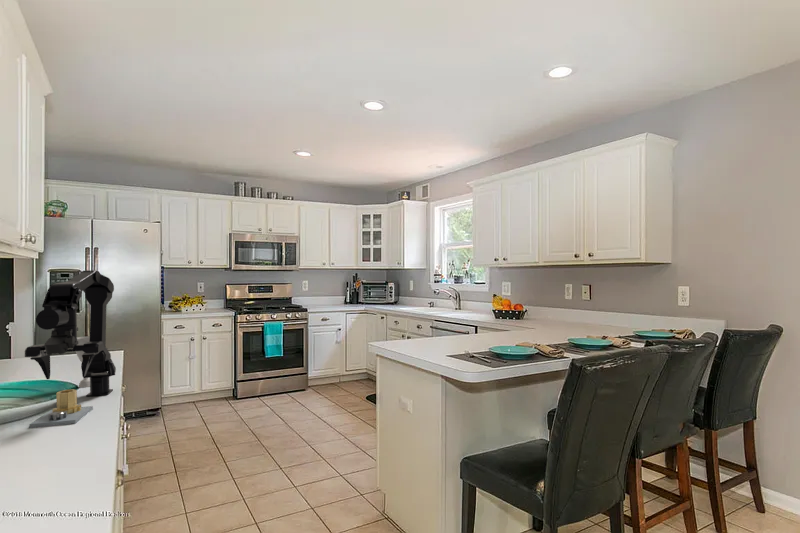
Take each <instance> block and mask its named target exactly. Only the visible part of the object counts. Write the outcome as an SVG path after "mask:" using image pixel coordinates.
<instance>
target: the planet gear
mask: <svg viewBox="0 0 800 533" xmlns="http://www.w3.org/2000/svg"><path fill="white" fill-rule="evenodd" d="M77 396H78V391H77V389H74V388H73V389H63V390H60V391H59V390H58V392H56V407H55V408H52V409H53V410H52V409H51V410H52V413H53V412H59V411H67V414H70V413H76V412H77V411H81V407H82V404H78V397H77Z"/></svg>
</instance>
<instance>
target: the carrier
mask: <svg viewBox="0 0 800 533" xmlns="http://www.w3.org/2000/svg"><path fill="white" fill-rule="evenodd" d="M93 408H94V406H93V405H90V406H89V405H88V406H81V411H77V412H76V413H70V414H67V411H59V412H53V413H52V410H53V409H54V408H52V409H50V410H49V411H47V412H46V413H44V414H42V415H41V416H40V417H39V418H38V417H37V419H35V420H34V421H32V422H31V423H29V428H31V429H33V428H44V427H52V426H64V425H71V423H75V424H77V423H78V422H79V421H80V420H82V419H83V418H84V417H85V416H87V415H88V414H89V413H90V412H91V411H92V410H94V409H93ZM88 412H89V413H88ZM87 413H88V414H87ZM83 416H84V417H83ZM82 417H83V418H82ZM81 418H82V419H81ZM77 421H78V422H77ZM76 422H77V423H76Z"/></svg>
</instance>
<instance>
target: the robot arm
mask: <svg viewBox="0 0 800 533" xmlns="http://www.w3.org/2000/svg"><path fill="white" fill-rule="evenodd" d="M114 290H115V285H114V283H113V281H112V280H111V278H109V277H107V276H105V275H104V274H101V273H100V271H99V270H96V269H95V270H94V269H92V270H91V269H90V270H88V269H87V270H82V271H80V272H79V273H78V274H76V275H75V276H74V277H72V278H71V279H69V280H67V281H62V282H56V283H55V282H54V283H52V284H51V285H50V286H49V287H48V289H47V291H46V294H45V298H44V300H43V303H42V308H43V309H42V310H41V311H39V312H38V313H37V315H36V318H35V323H36V325H37V326H38V327H39V328H40V329H42V330H47V331H49V330H51V333H50V334H51V335H50V337H49V338H48V339H47V340H46V342H44V343H42V344H33V345H30V346H27V347H26V348H25V350H24V357H25V358H30V360H31V361H35V362H36V363H38V365H39V366H40V367H39V368H41V371H42V373H43V374H44V377H45V379H46V380H50V379H51V378H50V377H51V355H52V354H53V355H57V354H59V355H63V354H65V353H69V352H76V351H83V352H85V353H84V354H83V355H82V358H83V361H82V362H81V367H80V369H81V375H82V378H88V379H90V387H89V393H88V394H86V397H98V396H108V395H109V394H110V393H112V392H113V391H114V389H113V388H110V377H112V376H113V377H114V376H116V370H117V369H116V365H115V363H114V361H113V360H112V357H111V356H112V355H111V353H110V351H109V349H108V348H107V347H106V343H107V342H106V339H107V338H106V337H107V306H108V304H109V302H110V301H111V300H112V298H113V292H114ZM83 293H84V297H85V299H86V301H87V302H88V304H89V305H90V308H89V309H90V314H89V336H90V341H89V342H87V343H85V344H84V345H77V344H78V341H77V337H78V331H79V327H78V326H77V324H78V322H77V319H78V318H77V317H78V316H77V315H78V314H77V310H78V309H79V305H78V303H79V301H80V299H81V298H82V296H83V295H82V294H83Z"/></svg>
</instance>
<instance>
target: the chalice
mask: <svg viewBox="0 0 800 533" xmlns="http://www.w3.org/2000/svg"><path fill="white" fill-rule="evenodd" d="M77 341H78V344H77V345H84V344H85V343H87V342H89V341H90V335H89V336H88V335H87V336H79V337H78V336H77ZM84 353H85V352H83V351H75V354H76V356H77V358H78V359H79V361H80V362H81V363H82V361H83V358H82V355H83V354H84ZM82 378H83V377H82ZM78 386H79V387H83V388H90V378H83V379H81V380H80V381H79V384H78ZM79 387H78V388H79Z"/></svg>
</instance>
